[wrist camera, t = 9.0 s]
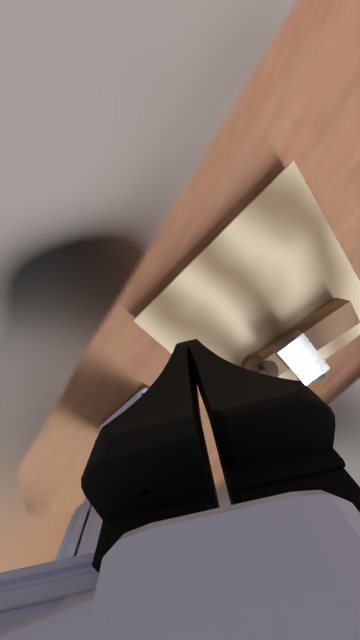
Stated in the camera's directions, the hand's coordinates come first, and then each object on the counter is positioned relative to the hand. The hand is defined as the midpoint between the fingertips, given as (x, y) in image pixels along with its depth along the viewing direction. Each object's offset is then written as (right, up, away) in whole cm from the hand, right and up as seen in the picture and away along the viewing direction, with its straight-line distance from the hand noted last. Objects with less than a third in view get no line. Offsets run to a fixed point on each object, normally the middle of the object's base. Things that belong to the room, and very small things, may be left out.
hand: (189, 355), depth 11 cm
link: (+12, 0, +9) cm, 15 cm away
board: (+9, +3, +10) cm, 13 cm away
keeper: (+12, -1, +10) cm, 16 cm away
